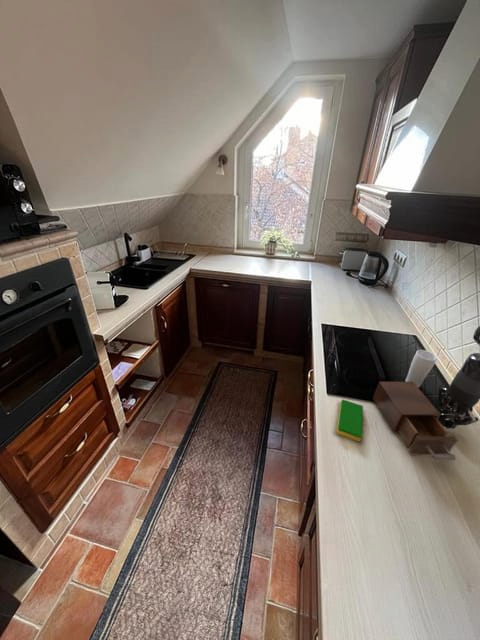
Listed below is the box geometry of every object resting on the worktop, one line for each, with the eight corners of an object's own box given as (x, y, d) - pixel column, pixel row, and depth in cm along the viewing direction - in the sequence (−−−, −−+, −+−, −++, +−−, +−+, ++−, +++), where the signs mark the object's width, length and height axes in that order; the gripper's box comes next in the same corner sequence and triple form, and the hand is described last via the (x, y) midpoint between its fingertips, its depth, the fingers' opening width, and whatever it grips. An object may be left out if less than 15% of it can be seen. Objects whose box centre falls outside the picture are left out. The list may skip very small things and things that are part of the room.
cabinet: (430, 432, 84) (441, 414, 80) (392, 432, 84) (401, 414, 80) (404, 398, 97) (412, 381, 93) (372, 398, 97) (379, 381, 92)
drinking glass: (425, 391, 100) (440, 361, 93) (406, 388, 101) (421, 359, 94) (417, 379, 106) (431, 350, 99) (400, 377, 107) (413, 348, 100)
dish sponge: (361, 410, 91) (363, 405, 90) (359, 442, 80) (361, 437, 79) (340, 403, 94) (342, 399, 93) (336, 433, 83) (338, 428, 82)
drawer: (458, 468, 73) (469, 453, 70) (419, 468, 73) (428, 454, 69) (419, 417, 88) (427, 403, 85) (387, 417, 88) (393, 403, 85)
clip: (449, 419, 87) (453, 412, 85) (455, 427, 84) (460, 420, 83) (434, 419, 87) (438, 412, 85) (440, 427, 84) (445, 420, 83)
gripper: (501, 403, 71) (472, 442, 80) (462, 369, 83) (441, 406, 92) (475, 403, 71) (449, 442, 79) (440, 369, 83) (420, 406, 92)
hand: (445, 422), depth 85 cm, fingers closed on clip, 3 cm apart
